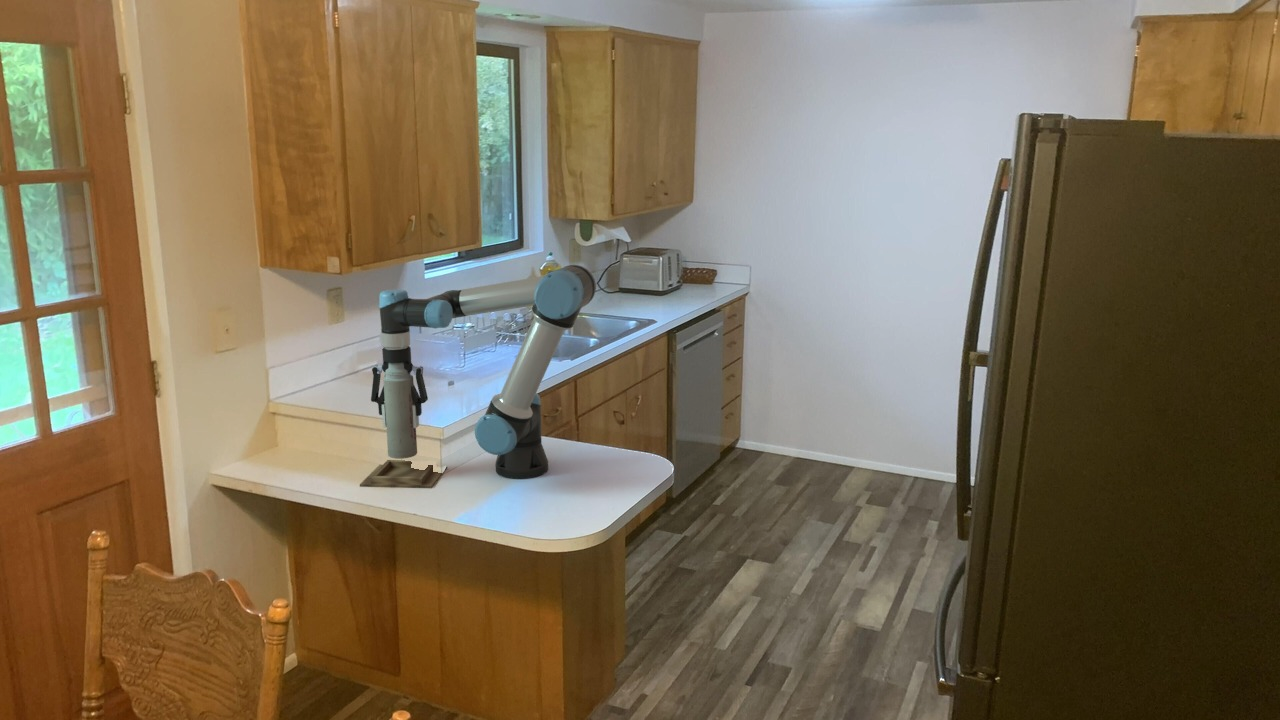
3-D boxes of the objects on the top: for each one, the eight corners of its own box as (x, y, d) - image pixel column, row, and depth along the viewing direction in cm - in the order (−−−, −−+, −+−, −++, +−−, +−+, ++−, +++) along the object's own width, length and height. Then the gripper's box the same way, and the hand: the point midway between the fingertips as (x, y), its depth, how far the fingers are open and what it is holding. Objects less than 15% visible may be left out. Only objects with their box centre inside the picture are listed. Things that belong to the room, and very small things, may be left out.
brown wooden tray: (447, 468, 267) (446, 460, 267) (431, 488, 252) (430, 480, 251) (379, 466, 269) (379, 458, 268) (359, 486, 253) (359, 478, 253)
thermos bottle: (422, 450, 262) (416, 354, 255) (409, 459, 254) (404, 361, 248) (396, 448, 263) (390, 353, 257) (382, 457, 256) (376, 359, 249)
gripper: (437, 344, 255) (441, 423, 260) (364, 343, 256) (369, 421, 261) (429, 350, 247) (433, 431, 253) (354, 348, 249) (359, 429, 254)
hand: (401, 426), depth 257 cm, fingers closed on thermos bottle, 8 cm apart
